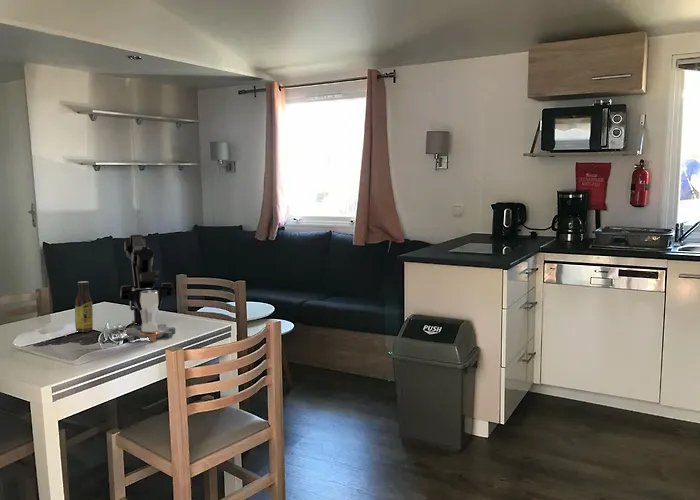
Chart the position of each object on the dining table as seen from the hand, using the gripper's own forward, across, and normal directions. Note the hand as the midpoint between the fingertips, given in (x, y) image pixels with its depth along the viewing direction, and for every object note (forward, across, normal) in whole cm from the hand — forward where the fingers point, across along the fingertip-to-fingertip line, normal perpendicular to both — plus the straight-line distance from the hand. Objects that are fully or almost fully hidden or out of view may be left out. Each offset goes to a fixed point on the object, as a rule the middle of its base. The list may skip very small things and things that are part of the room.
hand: (149, 309), depth 214 cm
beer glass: (+5, 0, +7) cm, 9 cm away
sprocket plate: (+4, 0, +12) cm, 13 cm away
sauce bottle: (-8, -22, +24) cm, 34 cm away
